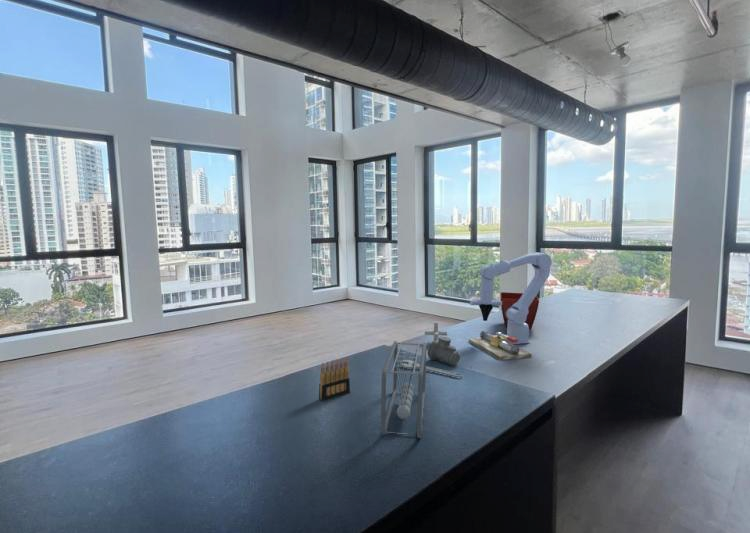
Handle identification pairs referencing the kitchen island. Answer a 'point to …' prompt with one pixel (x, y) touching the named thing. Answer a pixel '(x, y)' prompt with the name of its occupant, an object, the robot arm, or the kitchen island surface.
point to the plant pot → (511, 299)
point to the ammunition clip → (334, 380)
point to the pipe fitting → (443, 351)
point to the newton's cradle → (403, 389)
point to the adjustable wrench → (429, 368)
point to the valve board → (498, 350)
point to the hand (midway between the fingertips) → (484, 320)
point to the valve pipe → (499, 342)
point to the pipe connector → (435, 332)
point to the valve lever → (507, 337)
